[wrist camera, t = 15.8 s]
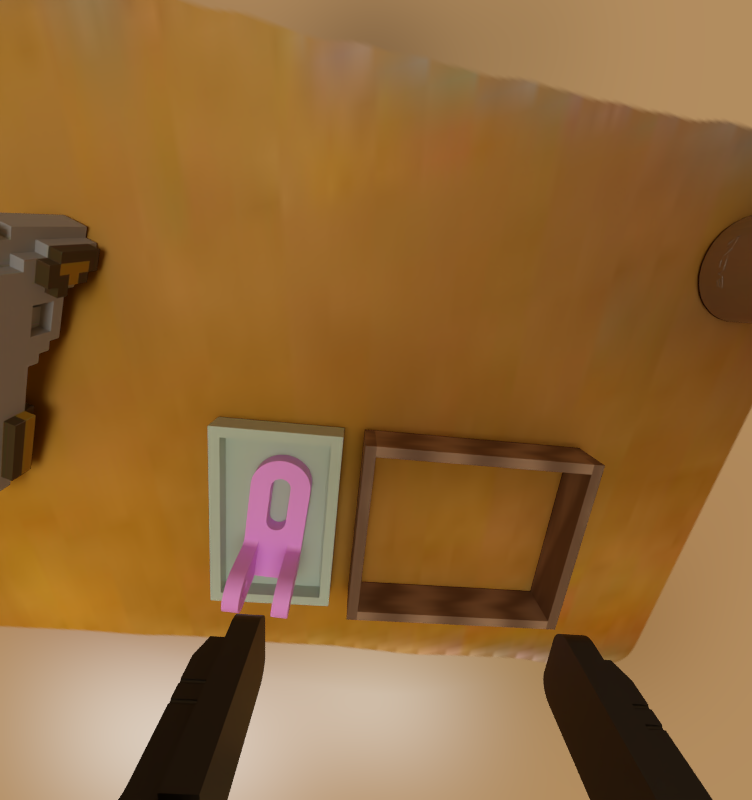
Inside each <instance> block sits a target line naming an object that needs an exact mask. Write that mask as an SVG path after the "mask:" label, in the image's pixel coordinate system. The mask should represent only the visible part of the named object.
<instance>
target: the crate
mask: <svg viewBox="0 0 752 800" xmlns="http://www.w3.org/2000/svg"><path fill="white" fill-rule="evenodd" d="M376 457H380V458H392V459H405V460H417V461H429V462H442V463H454V464H466V465H478V466H491V467H503V468H515V469H527V470H540V471H552V472H563V474H562V477H561V481H560V485H559V488H558V492H557V496H556V499H555V503H554V507H553V510H552V514H551V518H550V521H549V525H548V529H547V532H546V536H545V540H544V543H543V547H542V551H541V554H540V558H539V562H538V565H537V569H536V573H535V576H534V580H533V584H532V587H531V591H515V590H497V589H480V588H462V587H444V586H426V585H408V584H391V583H373V582H361V578H362V570H363V561H364V553H365V544H366V536H367V527H368V519H369V510H370V502H371V493H372V485H373V476H374V468H375V459H376ZM604 467H605V465H603V464H602V463H600V462H599V461H597V460H596V459H594V458H593V457H591V456H590V455H588V454H587V453H585V452H584V451H582V450H581V449H579V448H571V447H559V446H548V445H536V444H525V443H513V442H502V441H490V440H479V439H467V438H456V437H444V436H433V435H421V434H410V433H398V432H387V431H375V430H365V434H364V443H363V452H362V462H361V471H360V481H359V490H358V499H357V509H356V518H355V527H354V537H353V546H352V556H351V565H350V574H349V584H348V600H347V619H351V620H371V621H392V622H412V623H433V624H454V625H474V626H495V627H515V628H536V629H555V627H556V624H557V621H558V618H559V614H560V611H561V608H562V605H563V601H564V598H565V595H566V591H567V588H568V585H569V582H570V578H571V575H572V572H573V569H574V565H575V562H576V559H577V555H578V552H579V549H580V546H581V542H582V539H583V536H584V533H585V529H586V526H587V523H588V519H589V516H590V513H591V510H592V506H593V503H594V500H595V496H596V493H597V490H598V487H599V483H600V480H601V477H602V474H603V470H604Z"/></svg>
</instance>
